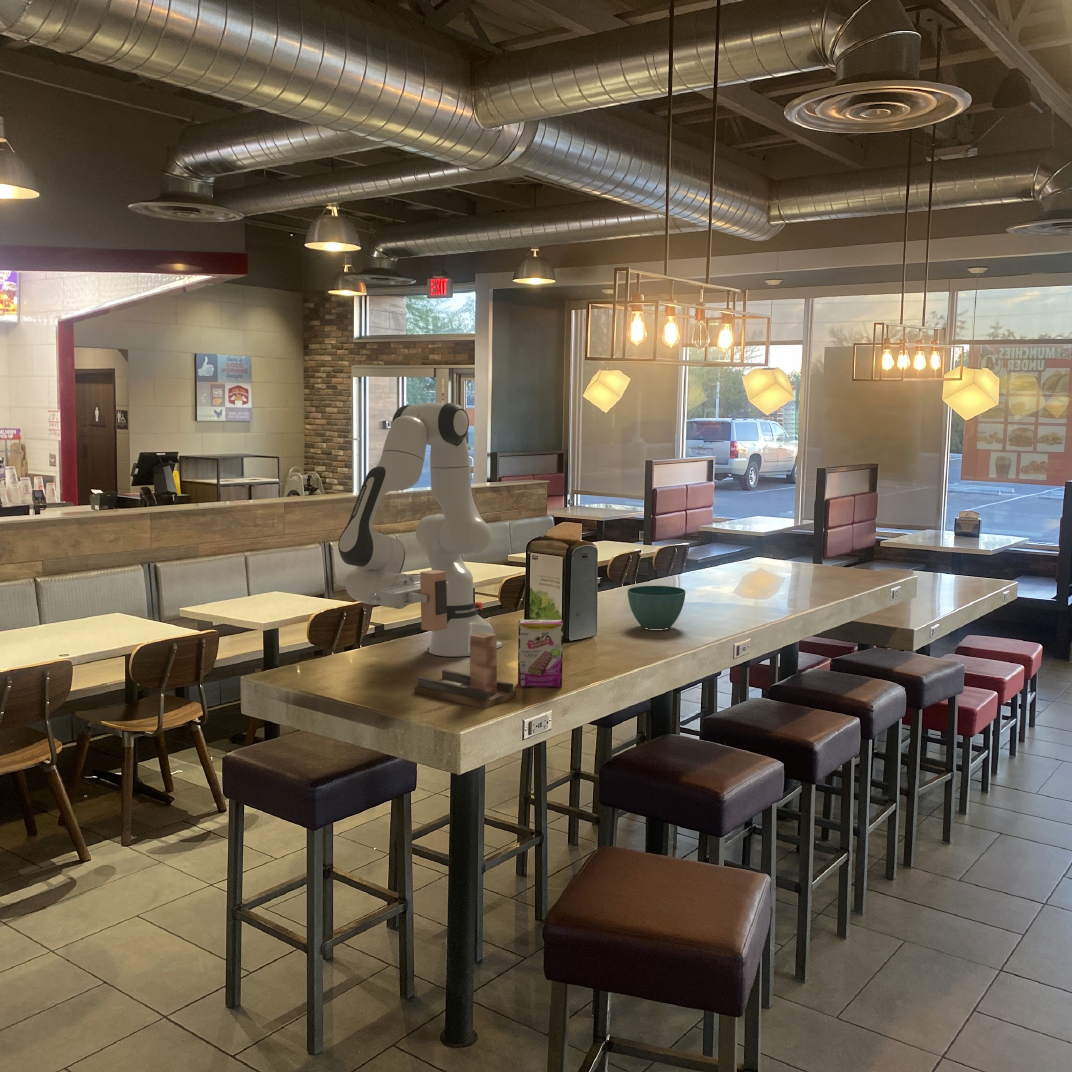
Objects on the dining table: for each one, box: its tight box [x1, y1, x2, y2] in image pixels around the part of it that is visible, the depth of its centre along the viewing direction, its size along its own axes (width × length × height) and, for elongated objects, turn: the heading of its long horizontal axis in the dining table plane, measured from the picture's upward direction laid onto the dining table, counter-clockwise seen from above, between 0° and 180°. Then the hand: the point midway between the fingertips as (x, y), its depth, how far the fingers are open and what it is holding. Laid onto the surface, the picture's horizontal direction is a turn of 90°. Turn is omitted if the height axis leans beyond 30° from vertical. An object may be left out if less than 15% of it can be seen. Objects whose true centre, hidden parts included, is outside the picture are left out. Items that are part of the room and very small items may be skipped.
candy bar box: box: [517, 619, 564, 688], centre depth 252 cm, size 11×5×16 cm, turn 92°
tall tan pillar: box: [419, 569, 447, 632], centre depth 245 cm, size 4×5×14 cm
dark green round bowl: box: [627, 585, 686, 629], centre depth 322 cm, size 18×18×12 cm
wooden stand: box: [414, 632, 517, 709], centre depth 244 cm, size 12×22×16 cm, turn 52°
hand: (436, 596), depth 245 cm, fingers closed on tall tan pillar, 4 cm apart
